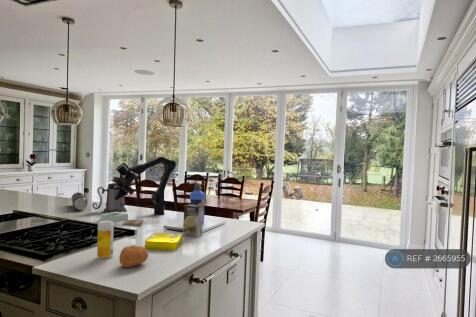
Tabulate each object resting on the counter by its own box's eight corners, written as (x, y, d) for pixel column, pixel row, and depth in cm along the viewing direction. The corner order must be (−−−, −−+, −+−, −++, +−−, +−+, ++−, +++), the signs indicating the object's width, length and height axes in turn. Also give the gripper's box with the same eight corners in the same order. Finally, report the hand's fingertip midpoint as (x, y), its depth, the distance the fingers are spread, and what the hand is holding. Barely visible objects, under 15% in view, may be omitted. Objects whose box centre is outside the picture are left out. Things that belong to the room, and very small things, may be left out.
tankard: (125, 208, 245) (125, 182, 245) (129, 212, 231) (130, 184, 230) (91, 210, 234) (91, 182, 233) (93, 214, 219) (94, 185, 219)
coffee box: (182, 235, 175) (183, 205, 174) (187, 232, 181) (188, 203, 180) (197, 237, 172) (198, 206, 171) (202, 234, 178) (203, 205, 177)
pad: (142, 222, 202) (143, 219, 202) (140, 225, 192) (140, 223, 192) (126, 222, 200) (126, 219, 200) (123, 226, 191) (123, 223, 191)
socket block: (116, 217, 212) (116, 211, 212) (128, 220, 206) (128, 213, 206) (100, 220, 202) (100, 214, 202) (112, 223, 196) (112, 216, 196)
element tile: (153, 241, 163) (153, 231, 163) (182, 242, 163) (183, 233, 162) (143, 250, 148) (143, 240, 148) (176, 251, 148) (176, 241, 147)
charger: (115, 207, 207) (116, 189, 207) (120, 208, 205) (120, 189, 205) (109, 208, 203) (109, 189, 203) (113, 209, 201) (113, 190, 200)
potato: (115, 264, 128) (115, 245, 128) (143, 259, 135) (143, 241, 135) (123, 271, 121) (123, 251, 121) (151, 265, 128) (152, 246, 128)
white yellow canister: (100, 254, 139) (100, 219, 138) (114, 254, 139) (115, 220, 139) (94, 259, 132) (95, 223, 132) (110, 259, 133) (111, 223, 133)
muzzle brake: (84, 204, 256) (84, 191, 255) (87, 211, 231) (88, 196, 231) (70, 205, 251) (71, 192, 251) (72, 212, 227) (73, 197, 226)
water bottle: (186, 224, 201) (187, 183, 200) (193, 221, 209) (195, 182, 209) (199, 225, 197) (200, 184, 197) (206, 222, 206) (208, 183, 205)
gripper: (111, 171, 212) (95, 189, 202) (130, 173, 202) (115, 192, 193) (120, 182, 218) (106, 200, 209) (140, 184, 209) (126, 204, 200)
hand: (113, 199), depth 203 cm, fingers closed on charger, 4 cm apart
